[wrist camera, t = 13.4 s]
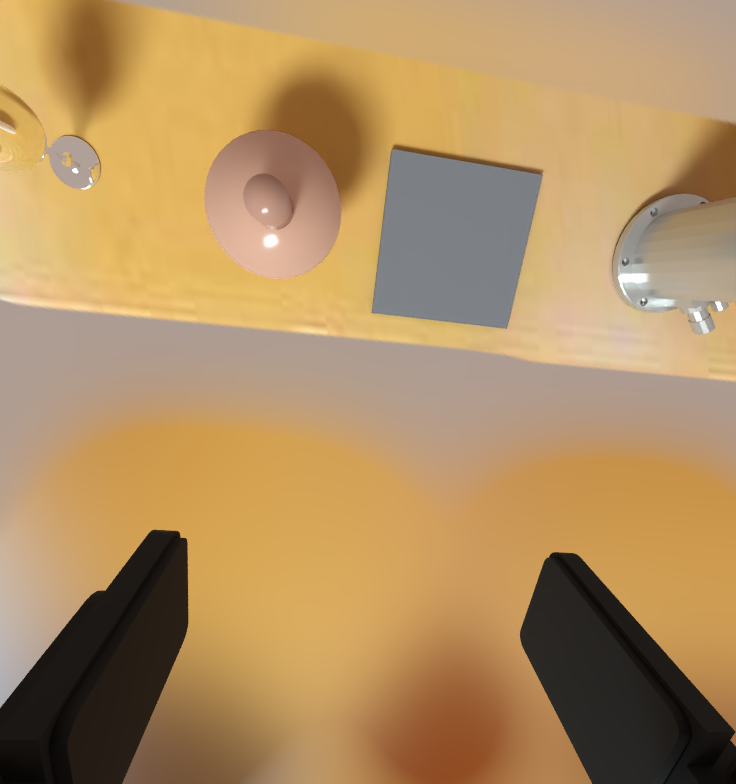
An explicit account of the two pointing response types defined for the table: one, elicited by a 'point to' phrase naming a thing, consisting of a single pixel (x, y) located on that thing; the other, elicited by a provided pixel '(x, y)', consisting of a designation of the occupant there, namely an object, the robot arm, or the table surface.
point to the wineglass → (41, 145)
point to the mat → (452, 239)
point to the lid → (272, 204)
